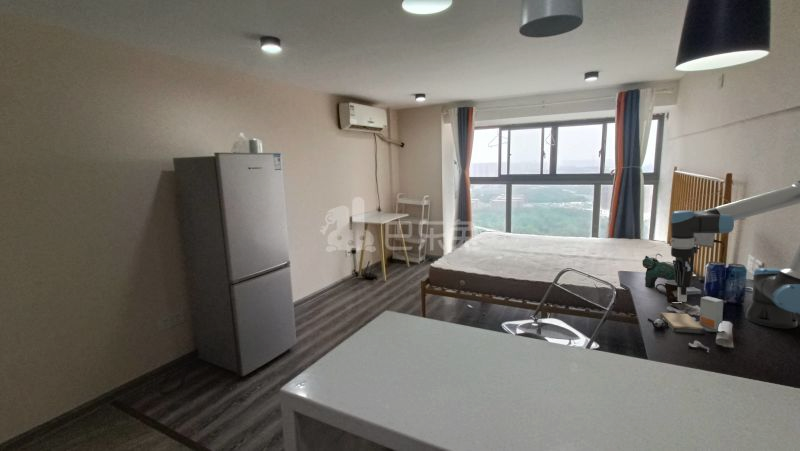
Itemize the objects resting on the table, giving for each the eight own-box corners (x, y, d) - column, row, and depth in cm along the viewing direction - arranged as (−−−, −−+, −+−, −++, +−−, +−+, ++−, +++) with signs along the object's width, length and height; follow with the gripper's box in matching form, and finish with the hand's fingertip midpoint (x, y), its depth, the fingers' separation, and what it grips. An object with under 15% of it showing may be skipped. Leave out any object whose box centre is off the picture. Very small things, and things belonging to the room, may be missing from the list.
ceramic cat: (640, 285, 203) (641, 252, 201) (649, 284, 205) (650, 250, 203) (676, 295, 185) (678, 258, 182) (685, 293, 186) (686, 257, 184)
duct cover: (687, 315, 156) (687, 313, 156) (703, 329, 142) (703, 327, 142) (660, 314, 160) (660, 312, 160) (673, 327, 146) (673, 325, 146)
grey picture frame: (687, 319, 157) (687, 315, 156) (703, 333, 143) (703, 329, 142) (660, 317, 160) (660, 314, 160) (673, 331, 146) (673, 328, 146)
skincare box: (698, 324, 150) (700, 297, 148) (705, 322, 151) (707, 295, 149) (715, 329, 144) (716, 301, 142) (722, 328, 145) (723, 300, 143)
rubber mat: (713, 323, 151) (713, 322, 151) (724, 332, 142) (724, 331, 142) (696, 322, 153) (696, 321, 153) (706, 331, 144) (706, 330, 144)
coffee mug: (688, 301, 175) (689, 282, 174) (682, 306, 171) (683, 286, 169) (661, 296, 185) (662, 278, 184) (654, 300, 180) (655, 281, 179)
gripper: (665, 244, 155) (665, 296, 158) (678, 250, 143) (678, 306, 146) (686, 244, 153) (685, 296, 156) (700, 250, 141) (700, 306, 143)
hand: (682, 301), depth 151 cm, fingers closed
